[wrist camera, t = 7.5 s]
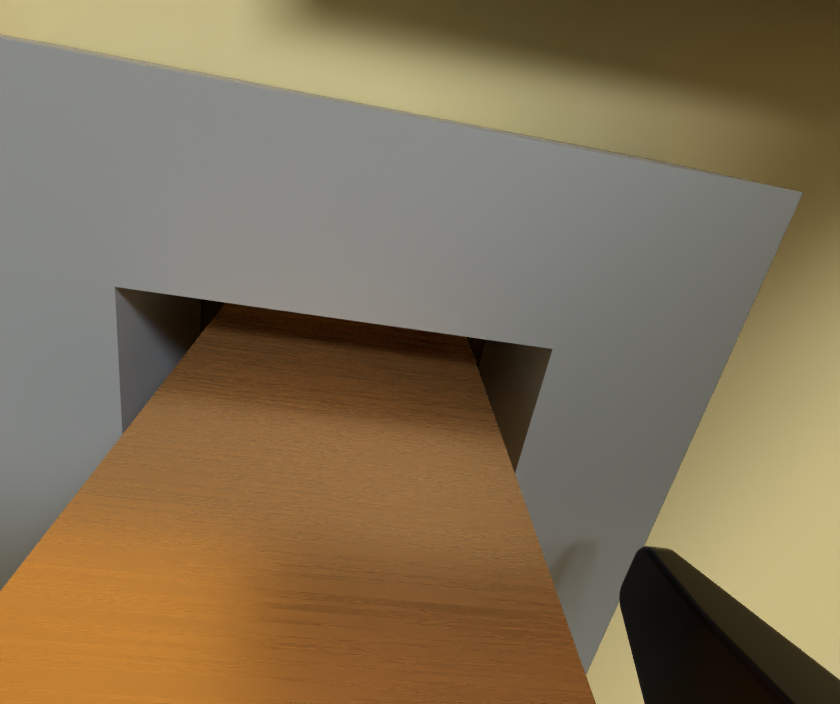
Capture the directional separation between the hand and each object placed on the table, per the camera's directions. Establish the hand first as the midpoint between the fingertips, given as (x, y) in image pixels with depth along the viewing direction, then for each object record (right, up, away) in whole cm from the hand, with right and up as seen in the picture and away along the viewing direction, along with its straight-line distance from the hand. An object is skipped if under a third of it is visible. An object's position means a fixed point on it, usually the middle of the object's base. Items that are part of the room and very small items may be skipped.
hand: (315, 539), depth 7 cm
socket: (0, +2, +4) cm, 4 cm away
